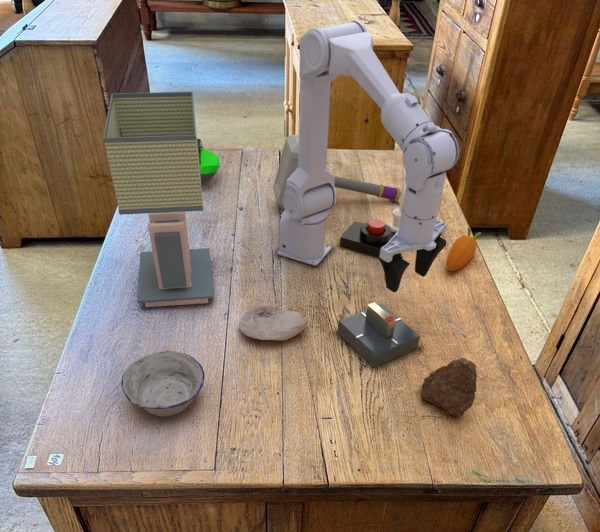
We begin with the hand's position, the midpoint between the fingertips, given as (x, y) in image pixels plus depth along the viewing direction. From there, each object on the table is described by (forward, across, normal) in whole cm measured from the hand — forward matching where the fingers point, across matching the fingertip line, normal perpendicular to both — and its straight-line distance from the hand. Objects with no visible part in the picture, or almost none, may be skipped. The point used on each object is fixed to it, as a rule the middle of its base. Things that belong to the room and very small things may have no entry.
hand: (406, 281), depth 103 cm
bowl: (+9, -45, +10) cm, 47 cm away
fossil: (+9, -21, +12) cm, 26 cm away
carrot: (+7, +18, +3) cm, 20 cm away
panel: (+9, -7, -1) cm, 12 cm away
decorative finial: (+9, +24, +23) cm, 34 cm away
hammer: (+9, +22, +40) cm, 47 cm away
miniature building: (+9, +1, +71) cm, 71 cm away
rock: (+9, -10, -20) cm, 24 cm away
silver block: (+6, -7, -1) cm, 10 cm away
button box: (+9, +15, +23) cm, 29 cm away
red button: (+5, +15, +22) cm, 27 cm away
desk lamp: (+9, -26, +36) cm, 46 cm away
